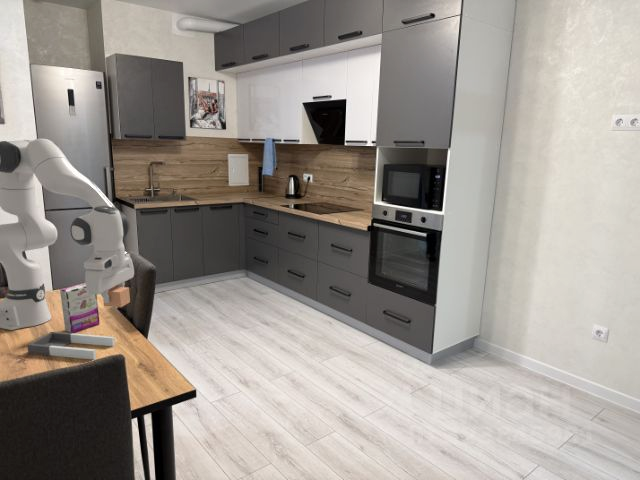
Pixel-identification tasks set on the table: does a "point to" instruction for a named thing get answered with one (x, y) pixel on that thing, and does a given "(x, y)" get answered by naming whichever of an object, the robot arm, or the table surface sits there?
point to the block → (118, 297)
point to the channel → (80, 351)
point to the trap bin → (49, 342)
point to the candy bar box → (79, 308)
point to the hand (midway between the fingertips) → (113, 299)
